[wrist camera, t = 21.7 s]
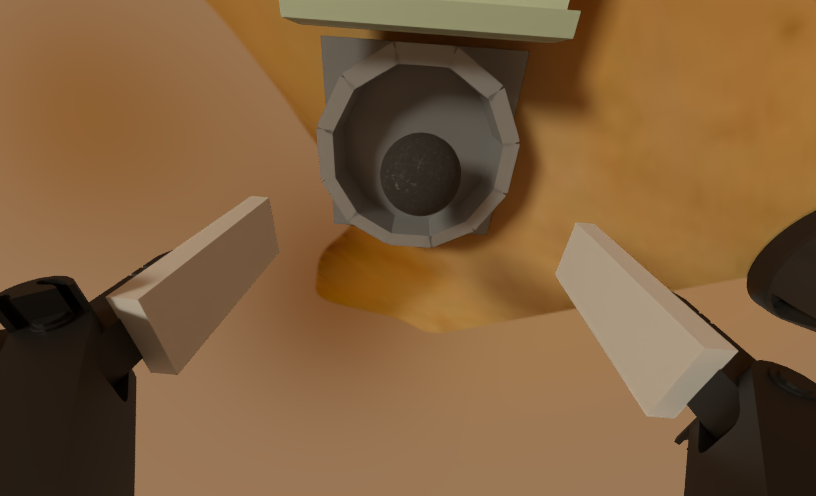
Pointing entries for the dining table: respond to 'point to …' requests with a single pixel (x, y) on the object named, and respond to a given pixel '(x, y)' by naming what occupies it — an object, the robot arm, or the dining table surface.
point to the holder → (417, 130)
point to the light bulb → (420, 174)
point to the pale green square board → (443, 17)
